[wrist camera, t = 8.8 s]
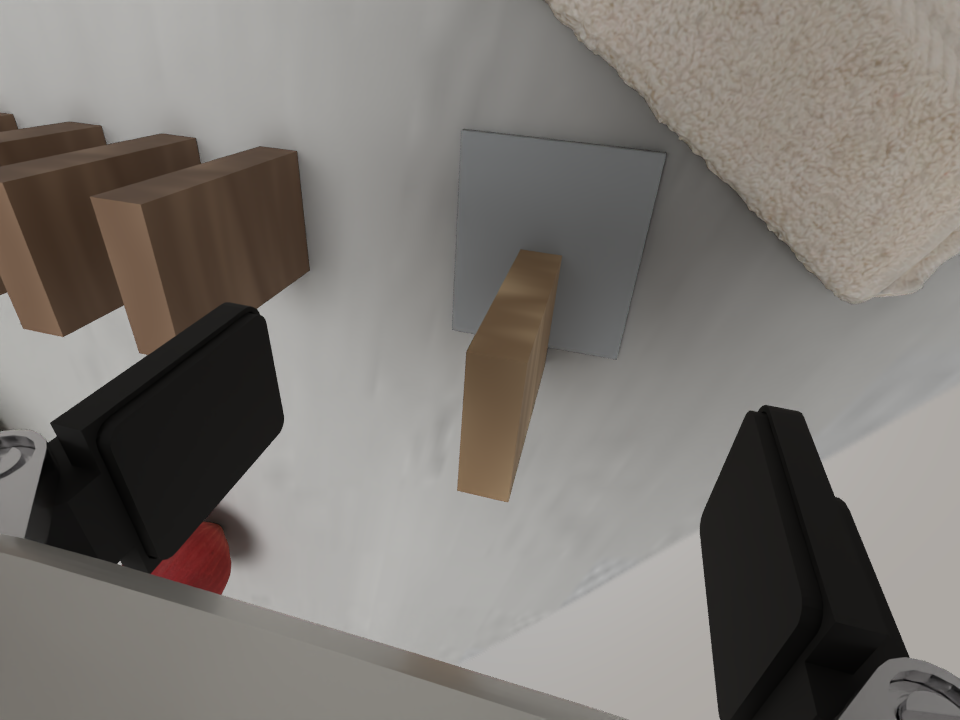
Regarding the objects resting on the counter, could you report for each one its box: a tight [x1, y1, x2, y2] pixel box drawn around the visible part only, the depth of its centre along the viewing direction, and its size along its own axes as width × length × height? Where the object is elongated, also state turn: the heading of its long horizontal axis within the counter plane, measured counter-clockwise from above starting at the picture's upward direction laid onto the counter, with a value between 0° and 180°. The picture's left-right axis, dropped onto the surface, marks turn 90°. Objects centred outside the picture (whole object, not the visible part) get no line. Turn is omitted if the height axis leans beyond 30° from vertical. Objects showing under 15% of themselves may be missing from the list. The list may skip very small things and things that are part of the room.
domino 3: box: [90, 146, 310, 355], centre depth 19 cm, size 2×5×8 cm, turn 176°
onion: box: [122, 521, 231, 595], centre depth 32 cm, size 6×6×8 cm
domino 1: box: [0, 122, 107, 295], centre depth 21 cm, size 2×5×8 cm, turn 176°
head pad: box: [452, 129, 666, 360], centre depth 20 cm, size 7×8×1 cm
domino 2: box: [0, 134, 201, 337], centre depth 20 cm, size 2×5×8 cm, turn 176°
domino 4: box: [457, 249, 562, 502], centre depth 18 cm, size 2×5×8 cm, turn 176°
